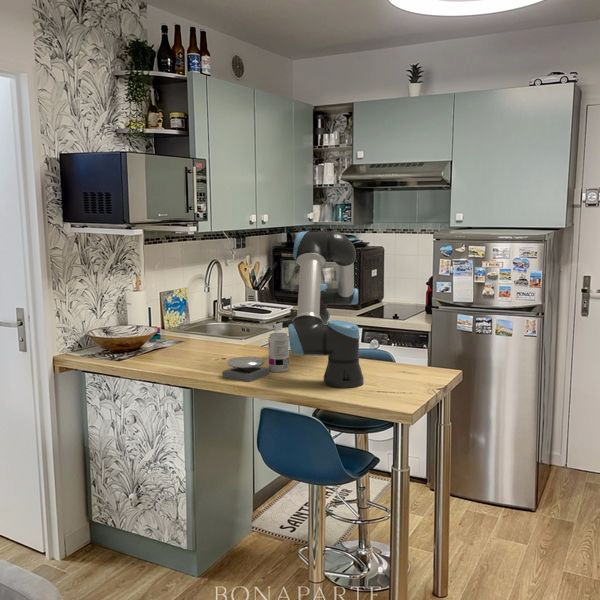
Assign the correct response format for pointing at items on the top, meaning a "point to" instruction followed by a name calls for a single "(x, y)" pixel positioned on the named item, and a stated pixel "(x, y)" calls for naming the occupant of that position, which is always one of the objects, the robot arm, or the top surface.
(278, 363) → the supplement can
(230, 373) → the scale frame
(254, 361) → the scale plate
